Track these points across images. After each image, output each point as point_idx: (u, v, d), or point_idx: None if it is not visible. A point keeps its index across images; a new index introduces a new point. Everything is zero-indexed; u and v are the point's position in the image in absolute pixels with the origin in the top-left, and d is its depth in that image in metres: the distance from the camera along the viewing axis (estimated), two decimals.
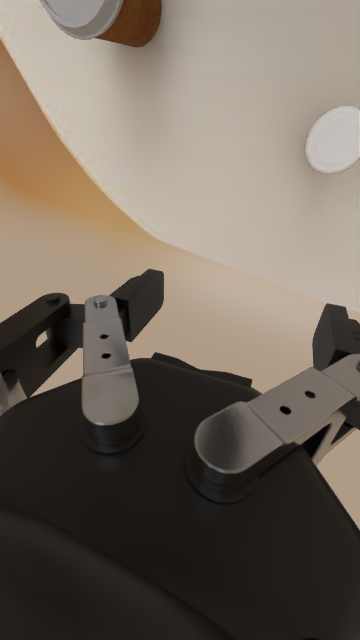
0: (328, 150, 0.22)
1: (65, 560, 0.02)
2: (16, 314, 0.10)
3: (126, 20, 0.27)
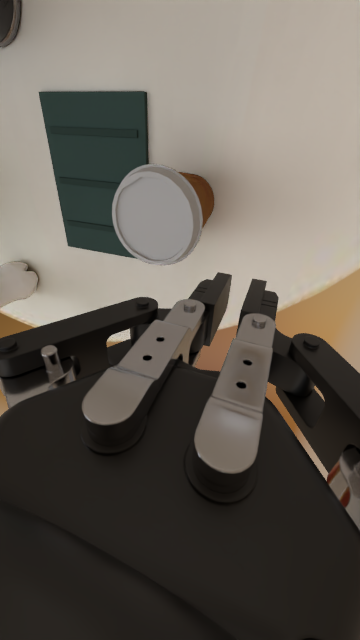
0: None
1: (65, 560, 0.02)
2: (105, 308, 0.11)
3: (195, 187, 0.27)
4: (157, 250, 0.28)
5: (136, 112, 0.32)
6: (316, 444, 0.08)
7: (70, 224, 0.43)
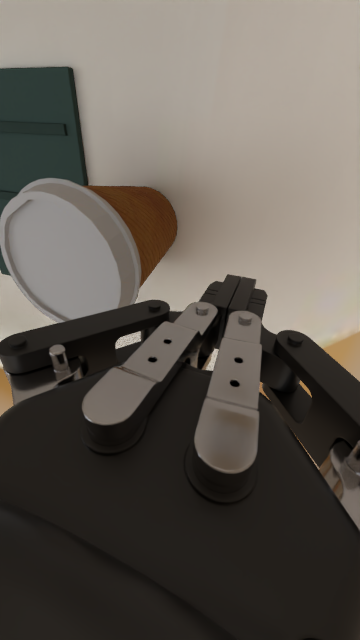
0: None
1: (65, 560, 0.02)
2: (117, 309, 0.10)
3: (133, 212, 0.17)
4: (77, 308, 0.18)
5: (60, 98, 0.22)
6: (305, 439, 0.09)
7: None
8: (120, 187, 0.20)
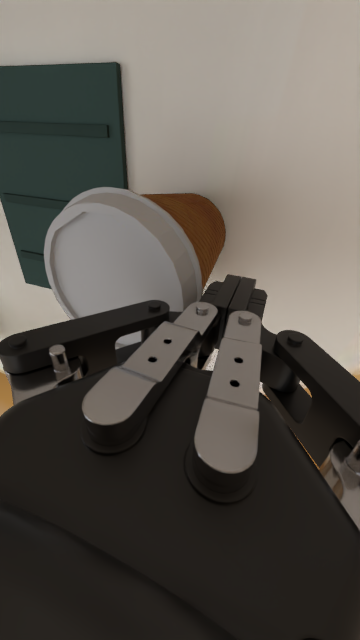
0: None
1: (65, 560, 0.02)
2: (117, 309, 0.10)
3: (192, 224, 0.15)
4: None
5: (104, 97, 0.20)
6: (305, 439, 0.09)
7: (25, 256, 0.31)
8: (172, 195, 0.18)
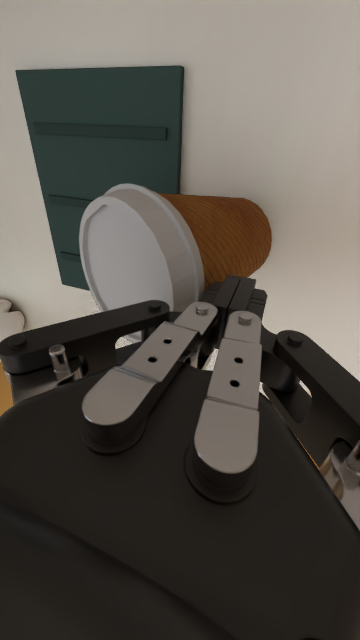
0: None
1: (65, 560, 0.02)
2: (117, 309, 0.10)
3: (212, 227, 0.15)
4: None
5: (166, 100, 0.20)
6: (305, 439, 0.09)
7: (65, 258, 0.31)
8: (210, 197, 0.18)
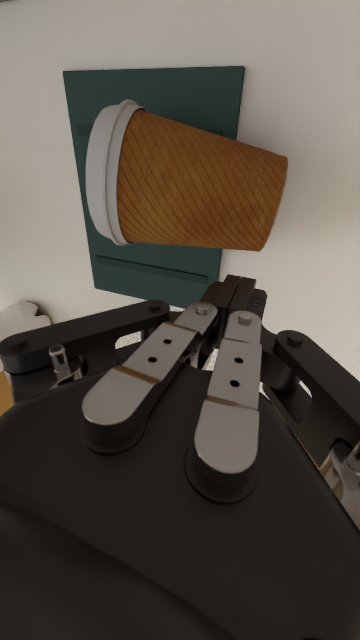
0: None
1: (65, 560, 0.02)
2: (117, 309, 0.10)
3: (173, 121, 0.17)
4: None
5: (224, 101, 0.20)
6: (305, 439, 0.09)
7: (100, 261, 0.31)
8: None
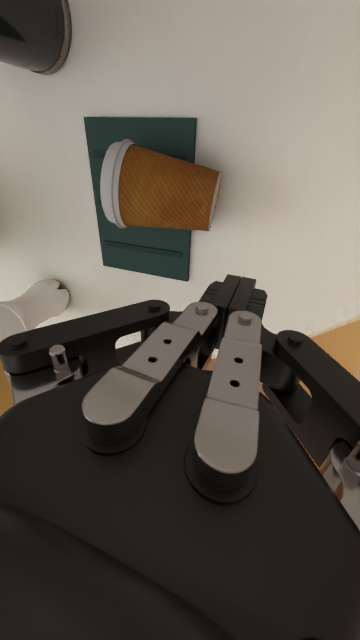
0: None
1: (65, 560, 0.02)
2: (117, 309, 0.10)
3: (152, 151, 0.29)
4: None
5: (184, 138, 0.32)
6: (305, 439, 0.09)
7: (107, 245, 0.43)
8: None
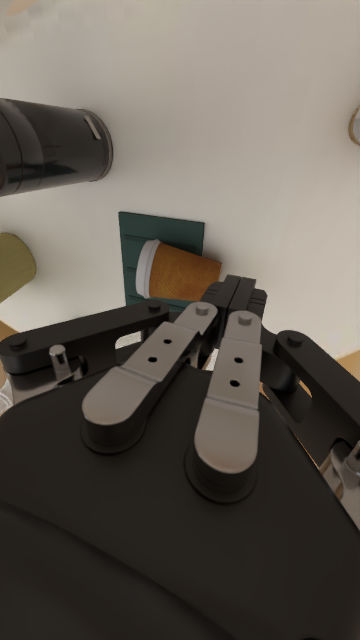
0: None
1: (65, 560, 0.02)
2: (117, 309, 0.10)
3: (172, 250, 0.41)
4: None
5: (195, 235, 0.43)
6: (305, 439, 0.09)
7: (131, 299, 0.54)
8: None
